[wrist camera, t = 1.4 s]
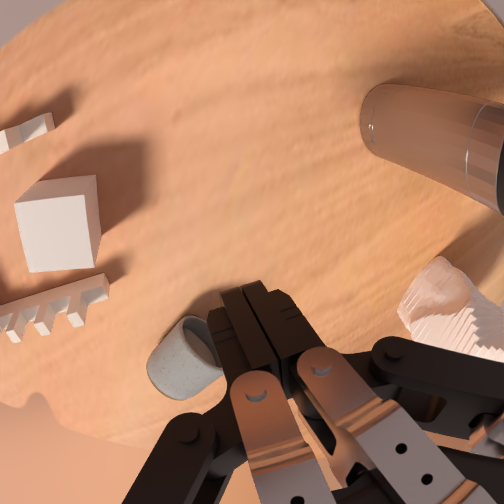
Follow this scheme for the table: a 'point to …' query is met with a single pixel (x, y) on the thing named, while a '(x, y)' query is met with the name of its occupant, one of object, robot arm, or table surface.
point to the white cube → (60, 224)
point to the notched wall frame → (56, 299)
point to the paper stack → (452, 313)
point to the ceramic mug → (184, 360)
